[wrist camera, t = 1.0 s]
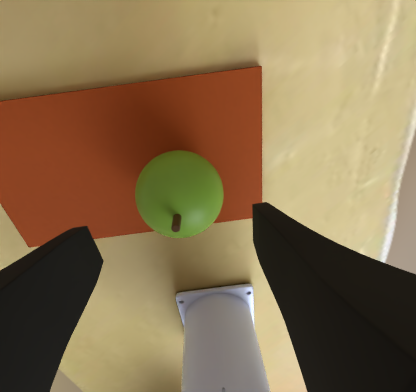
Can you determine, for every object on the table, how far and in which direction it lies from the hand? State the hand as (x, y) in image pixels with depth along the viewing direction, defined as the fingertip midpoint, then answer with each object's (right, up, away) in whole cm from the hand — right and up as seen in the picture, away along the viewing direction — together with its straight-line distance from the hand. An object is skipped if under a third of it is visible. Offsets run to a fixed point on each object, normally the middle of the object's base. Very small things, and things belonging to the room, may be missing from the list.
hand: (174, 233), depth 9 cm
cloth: (-5, +4, +6) cm, 9 cm away
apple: (0, +3, +6) cm, 7 cm away
